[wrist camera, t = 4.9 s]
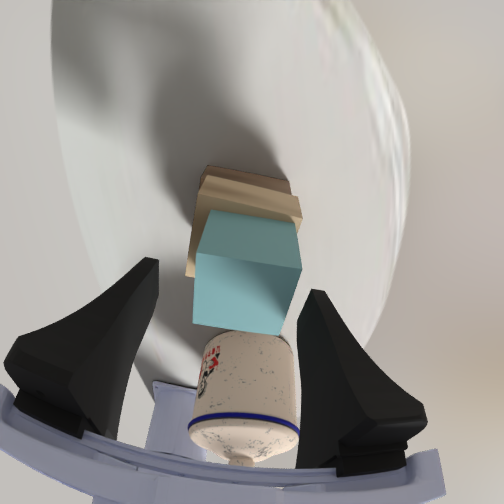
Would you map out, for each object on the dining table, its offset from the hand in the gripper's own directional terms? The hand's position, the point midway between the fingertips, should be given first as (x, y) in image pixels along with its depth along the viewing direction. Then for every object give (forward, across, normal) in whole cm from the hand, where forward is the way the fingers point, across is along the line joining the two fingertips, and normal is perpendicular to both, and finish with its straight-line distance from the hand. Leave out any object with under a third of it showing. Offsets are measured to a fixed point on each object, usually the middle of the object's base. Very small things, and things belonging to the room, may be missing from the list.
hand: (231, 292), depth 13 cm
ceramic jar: (+8, -4, +16) cm, 19 cm away
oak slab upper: (+6, 0, 0) cm, 6 cm away
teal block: (+3, 0, 0) cm, 3 cm away
